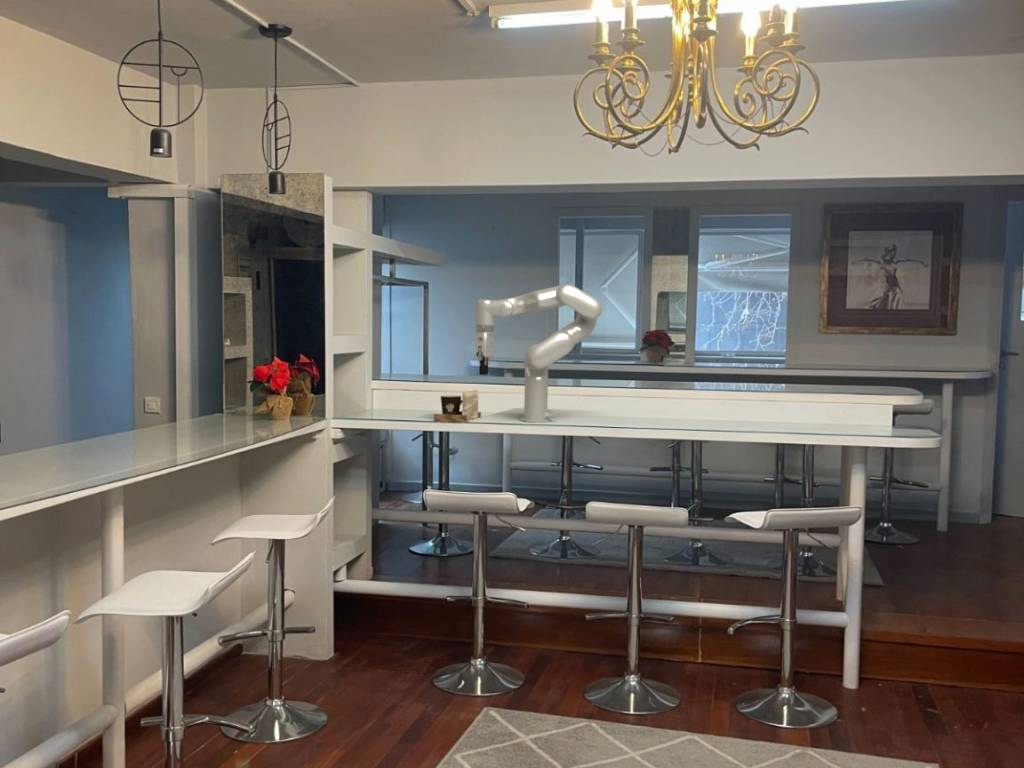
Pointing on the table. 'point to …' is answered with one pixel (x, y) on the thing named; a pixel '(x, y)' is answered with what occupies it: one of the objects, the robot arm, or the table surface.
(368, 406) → the table surface
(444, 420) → the mug holder
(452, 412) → the coffee mug
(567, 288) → the robot arm
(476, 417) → the ejector plate
